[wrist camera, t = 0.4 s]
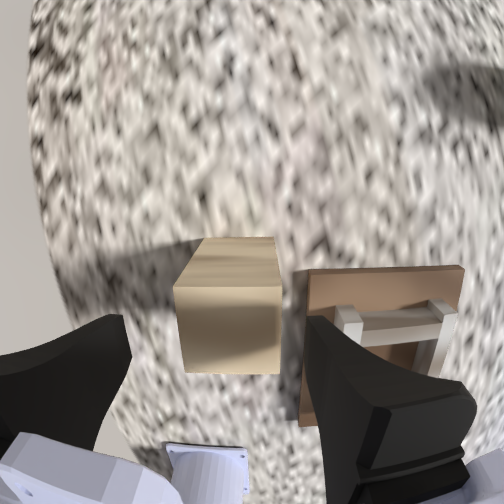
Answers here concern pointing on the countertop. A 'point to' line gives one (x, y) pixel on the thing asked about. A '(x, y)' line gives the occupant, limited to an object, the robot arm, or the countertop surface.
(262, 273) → the birch peg
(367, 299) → the socket board
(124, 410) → the countertop surface
